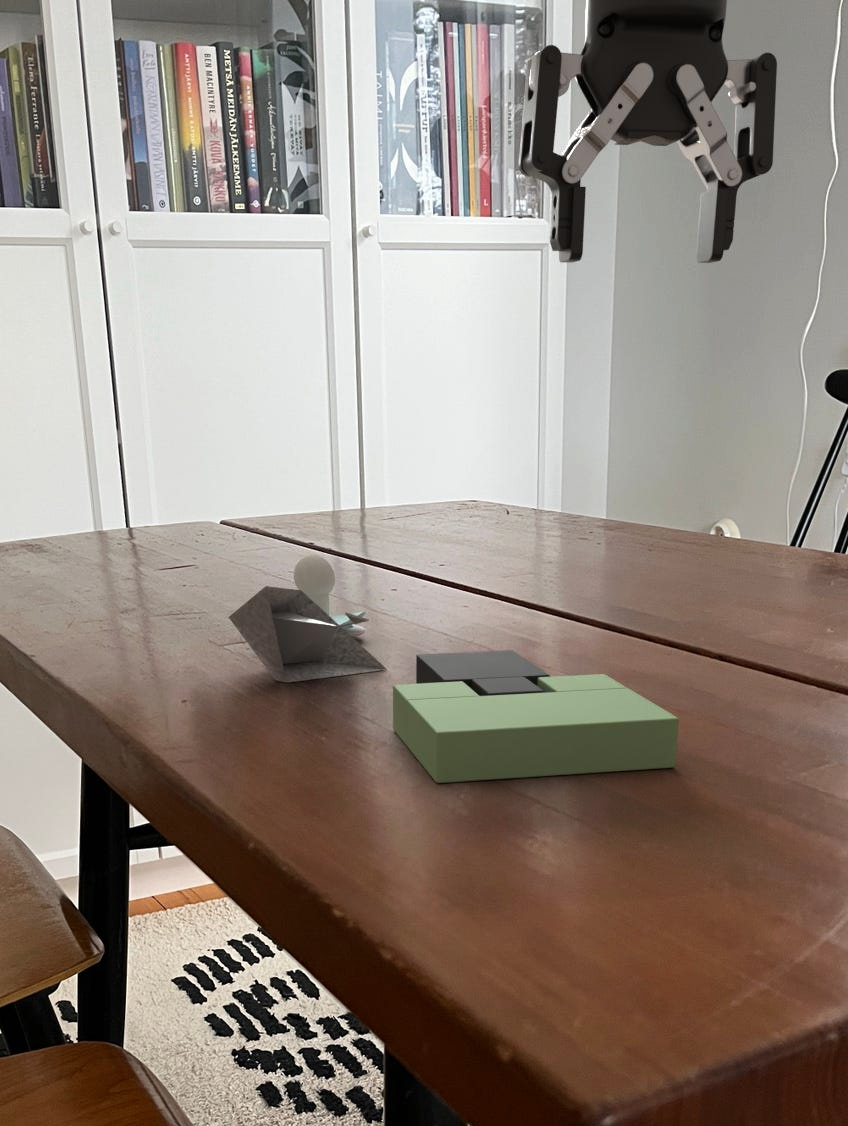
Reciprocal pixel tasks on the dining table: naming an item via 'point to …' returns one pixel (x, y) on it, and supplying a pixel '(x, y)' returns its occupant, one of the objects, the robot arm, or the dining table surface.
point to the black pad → (481, 671)
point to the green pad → (533, 729)
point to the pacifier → (322, 588)
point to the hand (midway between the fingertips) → (639, 261)
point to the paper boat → (300, 637)
